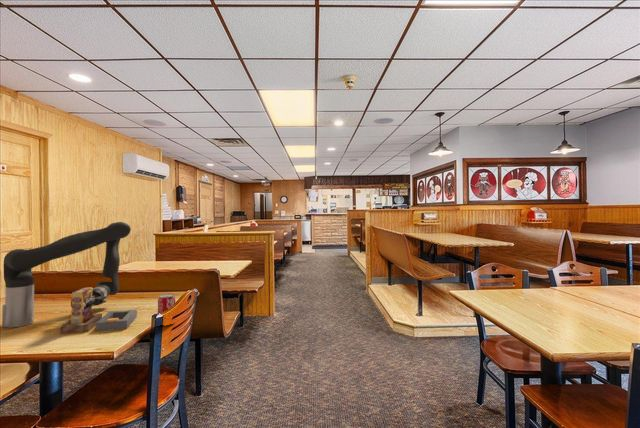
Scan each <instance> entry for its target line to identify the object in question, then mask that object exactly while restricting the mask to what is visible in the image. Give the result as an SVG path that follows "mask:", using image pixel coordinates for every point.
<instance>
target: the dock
mask: <svg viewBox="0 0 640 428" xmlns="http://www.w3.org/2000/svg"><path fill="white" fill-rule="evenodd" d="M137 318H138V309H137V308H136V309H123V310H122V309H121V310H112V311H111V310H110V311H108V312H107V313H106V314H105V315H103V316H102V318H101V319H100V320H99V321H98V322H97V323H96V326H95V332H104V331H105V332H106V331H116V330H117V331H118V330H124V329H126V330H127V329H128V328H129V327H130V326H131V324H133V322H134V321H135V320H136V319H137Z"/></svg>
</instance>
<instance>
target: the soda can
mask: <svg viewBox="0 0 640 428" xmlns="http://www.w3.org/2000/svg"><path fill="white" fill-rule="evenodd" d="M174 304H175V305H176V296H175V294H174V293H164V294H159V296H158V298H157V314H158V313H162V312H164V311H166V310H168V309H169V308H171V307H172V306H173V305H174Z"/></svg>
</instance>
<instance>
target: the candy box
mask: <svg viewBox="0 0 640 428" xmlns="http://www.w3.org/2000/svg"><path fill="white" fill-rule="evenodd" d="M92 289H93V287H82V288H79V289H78V290H75V291H72V292H71V293H72V294H71V300H72V307H71V314H70V320H71V324H82V323H86V322H87V321H89V320H90V319H91V316H92V312H93V311H92V308H93V306H91V307H89V308H86V304H87V303H88V302H89V301H91V300H92Z"/></svg>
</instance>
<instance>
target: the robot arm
mask: <svg viewBox="0 0 640 428" xmlns="http://www.w3.org/2000/svg"><path fill="white" fill-rule="evenodd" d="M131 230H132V228H131V226H130V225H129V224H128V223H126V222H124V221H116V222H112V223H110V224H109V225H107V226H106V227H103V228H99V229H94V230H87V231H81V232H78V233H75V234H71V235H67V236H65V237H62V238H60V239H57V240H55V241H53V242H51V243H49V244H46V245H43V246H39V247H36V248H35V247H34V248H29V249H21V248H16V249H11V250H10V251H9V252H7V253H6V255H5V256H4V258H3V280H4V283H5V286H4V287H5V289H4V291H5V292H4V294H5V296H4V297H5V298H4V300H5V301H4V304H3V305H2V309H1V310H2V311H1V312H2V313H1V328H10V329H11V328H18V327H23V326H27V325H31V324H33V323H34V321H35V320H34V318H35V314H34V313H35V312H34V311H35V310H34V309H35V278H34V276H33V271H32V269H33V268H36V267H38V266H41V265H43V264H45V263H47V262H51V261H53V260H57V259H60V258H64V257H67V256H70V255H71V256H72V255H75V254H78V253H82V252H84V251H86V250H90V249H91V248H94V247H97V246H100V245H101V244H105V256H104V261H103V262H104V263H103V269H102V271H101V272H102V273H101V274H102V277H104V278H108V279H110V280H111V281H100V282H98V283H97V284H96V286H95V287H94V288H93V287H92V300H91V301H89V302H88V303H87V304H86V308H89V307H91V306H92V307H95V306H100V305H102V304H104V303H106V302H107V297H109V296H115V295H117V294H118V293H119V291H120V284H119V269H120V253H119V251H120V250H119V245H120V241H121V239H125V238H126V237H128V236H129V234H130V232H131ZM70 307H71V308H72V299H71V300H70Z"/></svg>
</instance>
